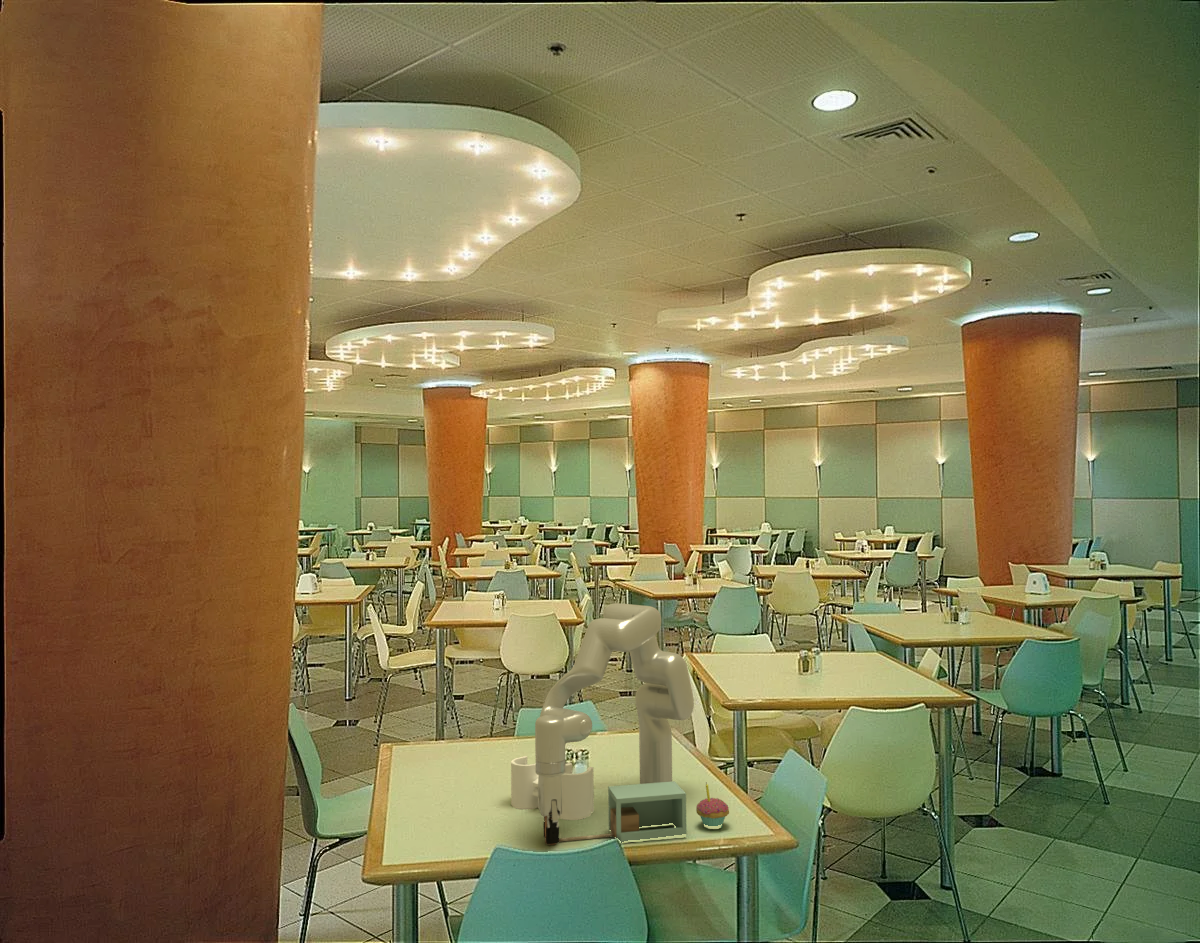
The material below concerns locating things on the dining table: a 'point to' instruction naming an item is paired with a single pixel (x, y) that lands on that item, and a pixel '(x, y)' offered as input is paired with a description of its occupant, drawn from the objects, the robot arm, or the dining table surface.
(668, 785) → the plain rectangular box
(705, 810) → the cupcake
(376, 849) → the dining table surface
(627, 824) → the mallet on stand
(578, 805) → the bracket
